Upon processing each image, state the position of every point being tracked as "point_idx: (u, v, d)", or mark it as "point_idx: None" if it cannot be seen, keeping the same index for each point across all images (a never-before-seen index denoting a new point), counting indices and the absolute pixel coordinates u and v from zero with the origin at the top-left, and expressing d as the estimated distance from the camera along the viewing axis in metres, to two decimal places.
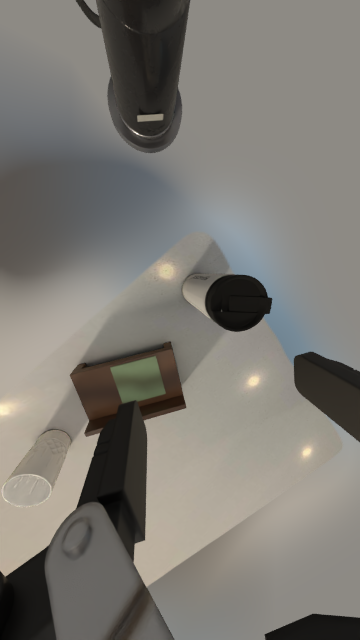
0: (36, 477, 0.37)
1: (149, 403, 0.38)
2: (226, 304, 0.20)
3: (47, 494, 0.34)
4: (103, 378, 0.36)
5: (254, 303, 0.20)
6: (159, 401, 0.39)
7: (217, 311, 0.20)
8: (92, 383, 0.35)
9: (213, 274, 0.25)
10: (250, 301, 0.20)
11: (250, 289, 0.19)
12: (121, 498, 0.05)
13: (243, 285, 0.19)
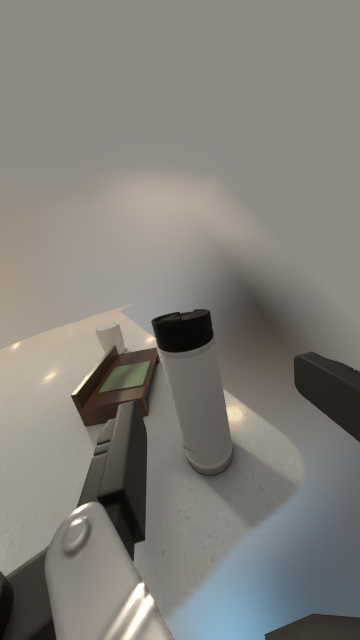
0: None
1: (100, 382, 0.39)
2: (182, 316, 0.20)
3: (96, 332, 0.59)
4: (144, 359, 0.46)
5: None
6: (95, 388, 0.37)
7: (178, 314, 0.21)
8: (144, 355, 0.48)
9: (219, 369, 0.21)
10: None
11: None
12: (121, 498, 0.05)
13: None
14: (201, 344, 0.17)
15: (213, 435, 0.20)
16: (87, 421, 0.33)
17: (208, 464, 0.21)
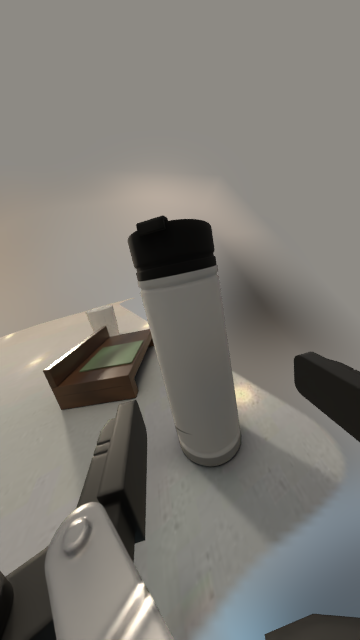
0: None
1: (84, 361, 0.34)
2: None
3: None
4: (136, 339, 0.40)
5: None
6: (76, 367, 0.32)
7: None
8: (137, 335, 0.42)
9: None
10: None
11: None
12: (121, 498, 0.05)
13: None
14: (198, 265, 0.11)
15: (215, 409, 0.14)
16: (64, 403, 0.28)
17: (208, 451, 0.15)
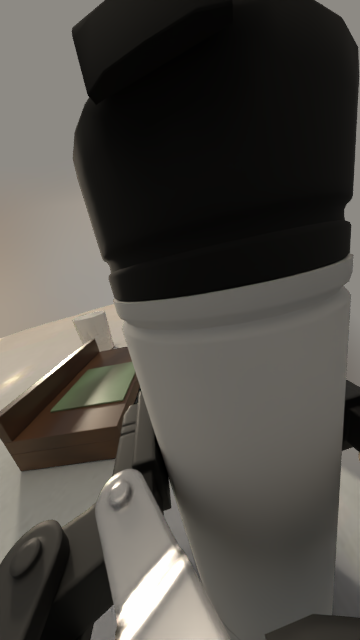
0: None
1: (60, 392, 0.25)
2: None
3: None
4: None
5: None
6: (48, 402, 0.23)
7: None
8: None
9: None
10: None
11: None
12: (152, 468, 0.05)
13: None
14: (335, 244, 0.03)
15: None
16: (24, 463, 0.19)
17: None
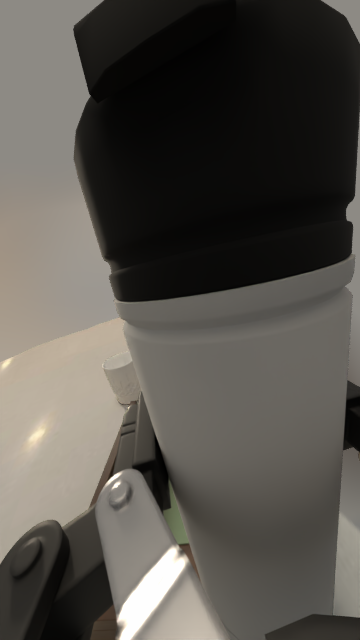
0: None
1: None
2: None
3: None
4: None
5: None
6: None
7: None
8: None
9: None
10: None
11: None
12: (153, 467, 0.05)
13: None
14: (336, 244, 0.03)
15: None
16: (91, 639, 0.15)
17: None
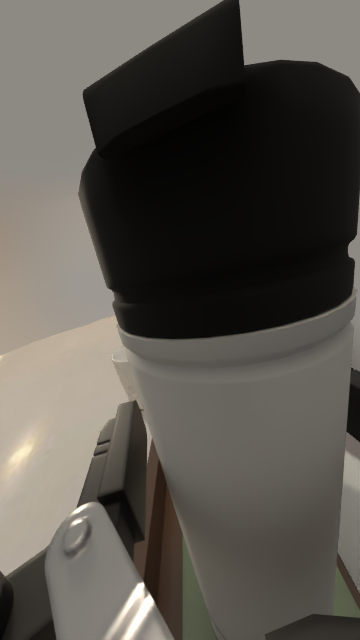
0: None
1: None
2: None
3: None
4: None
5: None
6: None
7: None
8: None
9: None
10: None
11: None
12: (121, 498, 0.05)
13: None
14: (339, 289, 0.03)
15: None
16: None
17: None
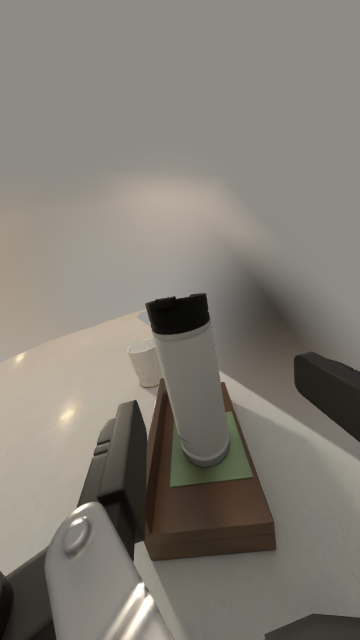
0: None
1: (161, 454, 0.24)
2: None
3: None
4: None
5: None
6: (158, 471, 0.21)
7: None
8: None
9: None
10: None
11: None
12: (121, 498, 0.05)
13: None
14: (196, 325, 0.16)
15: (209, 424, 0.19)
16: (157, 554, 0.17)
17: (204, 455, 0.20)
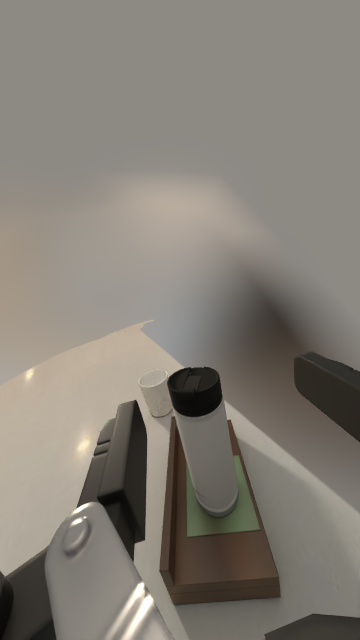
0: None
1: (177, 500, 0.26)
2: (194, 375, 0.23)
3: None
4: None
5: None
6: (176, 519, 0.24)
7: (189, 370, 0.24)
8: None
9: None
10: (193, 387, 0.20)
11: (205, 386, 0.20)
12: (121, 498, 0.05)
13: (209, 381, 0.20)
14: (212, 409, 0.19)
15: (221, 484, 0.22)
16: (179, 600, 0.20)
17: (216, 508, 0.23)
